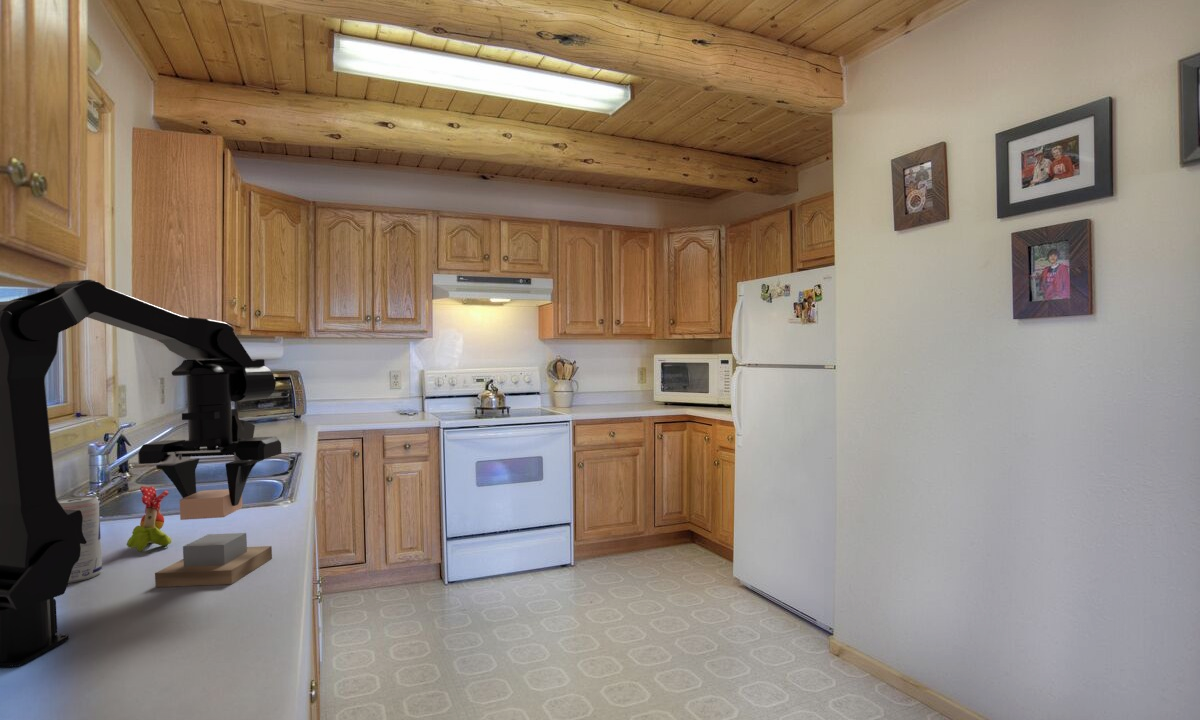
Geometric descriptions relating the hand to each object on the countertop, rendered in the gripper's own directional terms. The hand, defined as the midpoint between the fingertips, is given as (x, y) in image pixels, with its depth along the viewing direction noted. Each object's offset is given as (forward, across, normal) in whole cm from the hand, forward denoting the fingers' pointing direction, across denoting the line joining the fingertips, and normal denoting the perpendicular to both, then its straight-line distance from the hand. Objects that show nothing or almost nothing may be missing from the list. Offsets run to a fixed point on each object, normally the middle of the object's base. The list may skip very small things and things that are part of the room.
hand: (213, 506), depth 94 cm
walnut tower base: (+10, 0, 0) cm, 10 cm away
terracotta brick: (+1, 0, 0) cm, 1 cm away
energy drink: (+10, +21, 0) cm, 23 cm away
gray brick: (+8, 0, 0) cm, 8 cm away
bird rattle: (+10, +21, -15) cm, 28 cm away
